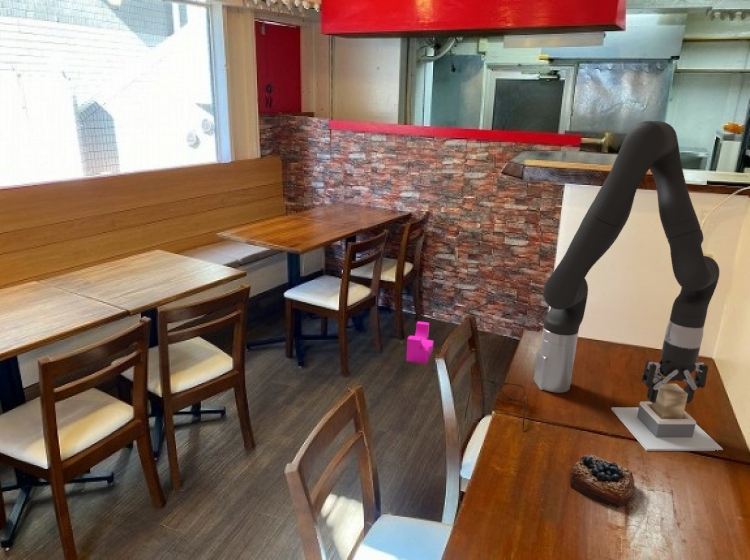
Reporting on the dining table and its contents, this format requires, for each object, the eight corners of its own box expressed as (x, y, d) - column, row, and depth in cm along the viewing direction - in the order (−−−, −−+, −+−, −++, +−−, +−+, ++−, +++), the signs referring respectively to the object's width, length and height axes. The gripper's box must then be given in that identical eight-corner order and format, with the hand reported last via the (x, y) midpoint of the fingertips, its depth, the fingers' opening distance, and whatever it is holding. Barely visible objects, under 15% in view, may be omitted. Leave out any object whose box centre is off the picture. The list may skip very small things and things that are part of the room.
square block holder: (646, 450, 126) (650, 432, 124) (611, 409, 143) (614, 392, 141) (722, 450, 126) (727, 432, 125) (678, 409, 144) (682, 392, 142)
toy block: (426, 364, 165) (427, 341, 163) (406, 361, 167) (407, 338, 165) (435, 344, 179) (436, 323, 177) (416, 342, 181) (418, 321, 179)
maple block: (661, 419, 131) (667, 393, 129) (651, 408, 136) (656, 383, 133) (682, 419, 131) (688, 393, 129) (670, 408, 136) (676, 383, 134)
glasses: (524, 401, 146) (526, 385, 144) (522, 436, 132) (524, 419, 130) (470, 392, 149) (471, 377, 147) (463, 426, 136) (465, 409, 134)
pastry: (580, 462, 121) (584, 440, 119) (638, 486, 114) (643, 462, 112) (563, 488, 113) (567, 464, 111) (624, 514, 106) (629, 489, 104)
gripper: (661, 346, 123) (648, 409, 128) (722, 347, 124) (706, 410, 129) (644, 333, 131) (632, 393, 136) (702, 334, 131) (688, 394, 136)
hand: (668, 401), depth 132 cm, fingers open, 8 cm apart
